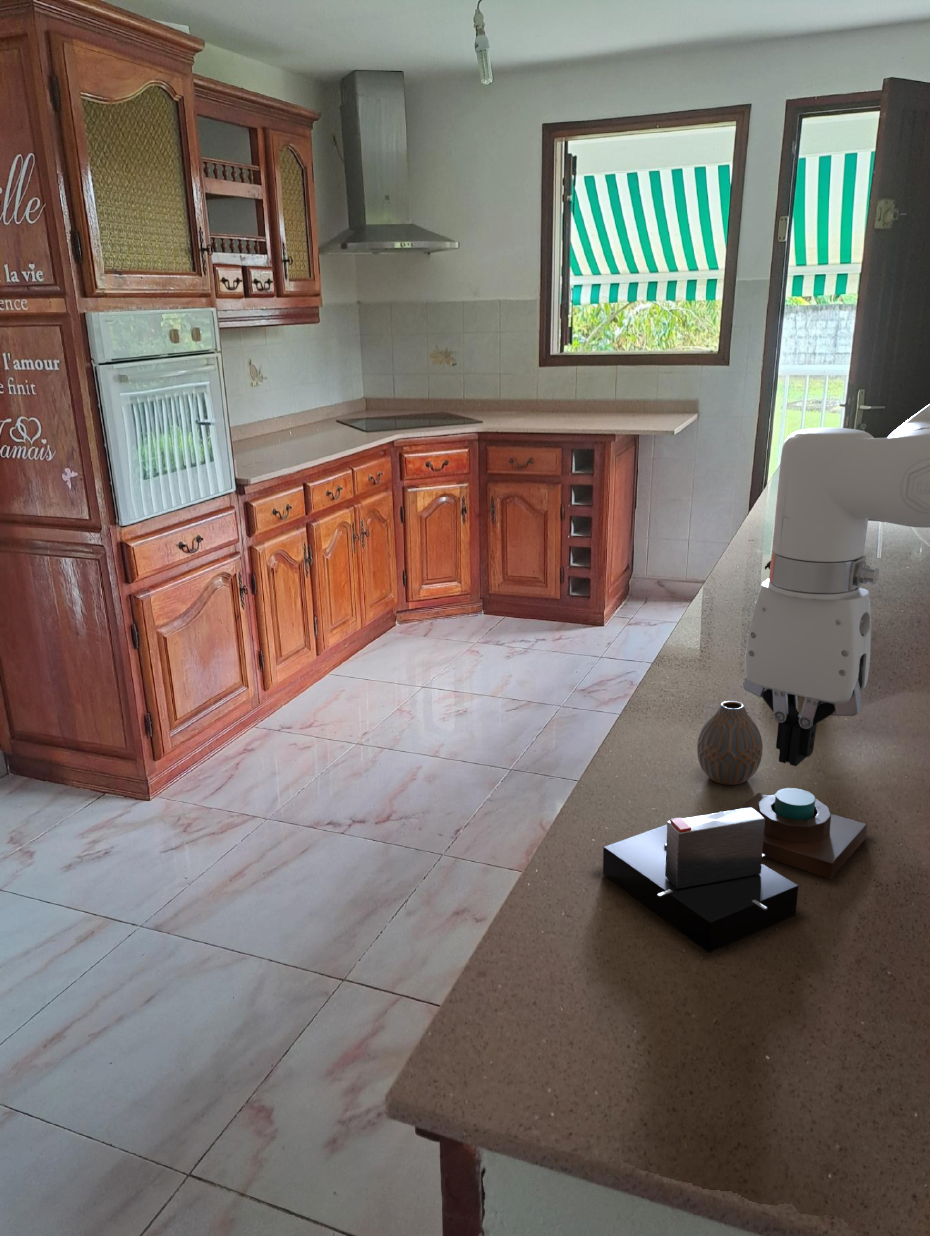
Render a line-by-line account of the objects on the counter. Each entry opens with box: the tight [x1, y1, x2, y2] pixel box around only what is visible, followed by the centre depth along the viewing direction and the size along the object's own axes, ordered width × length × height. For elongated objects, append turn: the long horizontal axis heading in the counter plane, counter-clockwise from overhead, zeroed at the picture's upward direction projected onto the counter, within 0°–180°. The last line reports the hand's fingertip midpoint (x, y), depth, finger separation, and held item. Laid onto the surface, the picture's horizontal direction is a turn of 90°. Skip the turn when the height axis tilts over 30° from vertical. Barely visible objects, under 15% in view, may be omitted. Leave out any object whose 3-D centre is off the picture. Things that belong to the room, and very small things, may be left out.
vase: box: [696, 700, 764, 786], centre depth 106 cm, size 7×7×9 cm
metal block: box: [665, 807, 765, 889], centre depth 83 cm, size 8×2×6 cm, turn 103°
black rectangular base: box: [602, 824, 800, 953], centre depth 86 cm, size 15×12×3 cm
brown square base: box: [740, 792, 868, 880], centre depth 94 cm, size 11×9×4 cm
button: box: [774, 787, 816, 820], centre depth 93 cm, size 4×4×2 cm
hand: (793, 758), depth 91 cm, fingers closed
